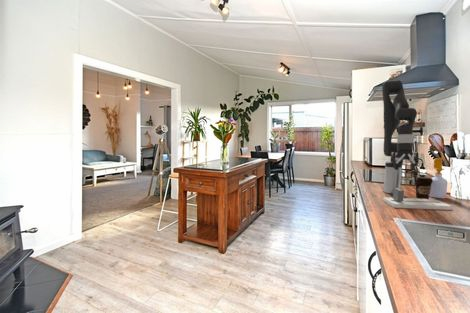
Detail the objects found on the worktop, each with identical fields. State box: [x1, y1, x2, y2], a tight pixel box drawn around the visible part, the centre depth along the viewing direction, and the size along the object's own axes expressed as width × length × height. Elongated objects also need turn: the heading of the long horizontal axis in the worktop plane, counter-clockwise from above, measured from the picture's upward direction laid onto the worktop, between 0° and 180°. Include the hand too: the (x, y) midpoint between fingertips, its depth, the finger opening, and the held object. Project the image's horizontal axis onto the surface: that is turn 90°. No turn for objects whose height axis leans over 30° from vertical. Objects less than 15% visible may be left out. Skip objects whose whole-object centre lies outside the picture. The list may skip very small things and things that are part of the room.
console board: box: [382, 196, 452, 211], centre depth 137 cm, size 13×28×2 cm, turn 83°
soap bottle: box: [429, 157, 448, 199], centre depth 153 cm, size 9×9×25 cm
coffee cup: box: [415, 176, 433, 199], centre depth 149 cm, size 9×8×13 cm
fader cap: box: [392, 188, 405, 201], centre depth 137 cm, size 5×3×6 cm, turn 173°
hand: (404, 170), depth 145 cm, fingers open, 8 cm apart
